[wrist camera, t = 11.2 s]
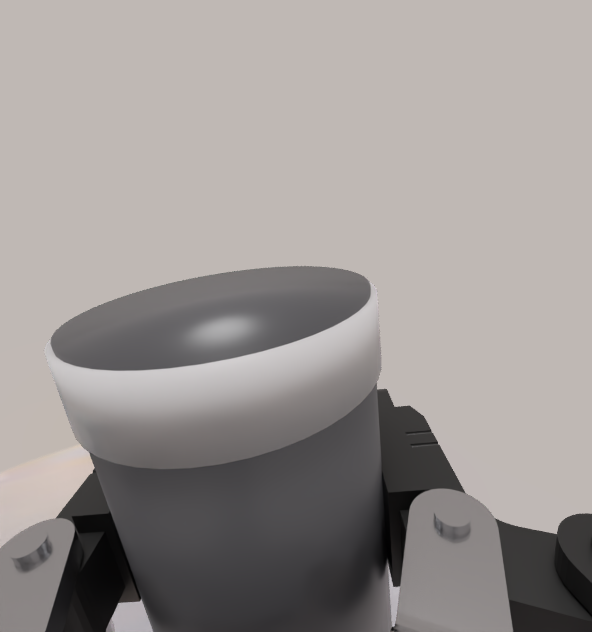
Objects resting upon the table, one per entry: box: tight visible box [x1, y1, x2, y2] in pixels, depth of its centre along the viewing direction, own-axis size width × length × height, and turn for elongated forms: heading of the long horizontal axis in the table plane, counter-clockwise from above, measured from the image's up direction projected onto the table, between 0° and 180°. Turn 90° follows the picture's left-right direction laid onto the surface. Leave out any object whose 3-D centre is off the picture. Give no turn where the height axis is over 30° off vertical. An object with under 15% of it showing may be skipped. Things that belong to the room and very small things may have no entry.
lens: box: [44, 266, 392, 632], centre depth 8 cm, size 5×5×11 cm
